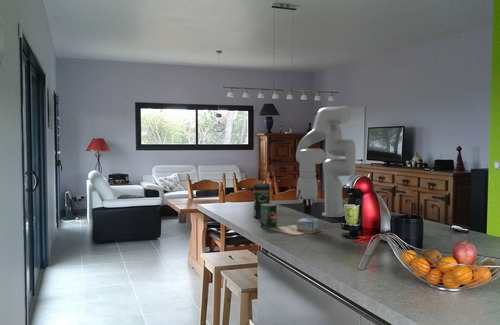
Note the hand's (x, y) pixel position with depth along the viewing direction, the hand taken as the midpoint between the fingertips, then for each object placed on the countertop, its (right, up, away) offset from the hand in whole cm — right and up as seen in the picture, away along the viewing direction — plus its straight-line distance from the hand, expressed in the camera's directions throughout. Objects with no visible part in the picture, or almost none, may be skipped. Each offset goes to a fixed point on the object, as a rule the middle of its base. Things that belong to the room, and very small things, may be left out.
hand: (307, 213), depth 217 cm
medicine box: (+1, -5, 0) cm, 5 cm away
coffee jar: (-21, -6, +34) cm, 41 cm away
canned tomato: (-18, -7, +6) cm, 21 cm away
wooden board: (-7, -8, -4) cm, 11 cm away
